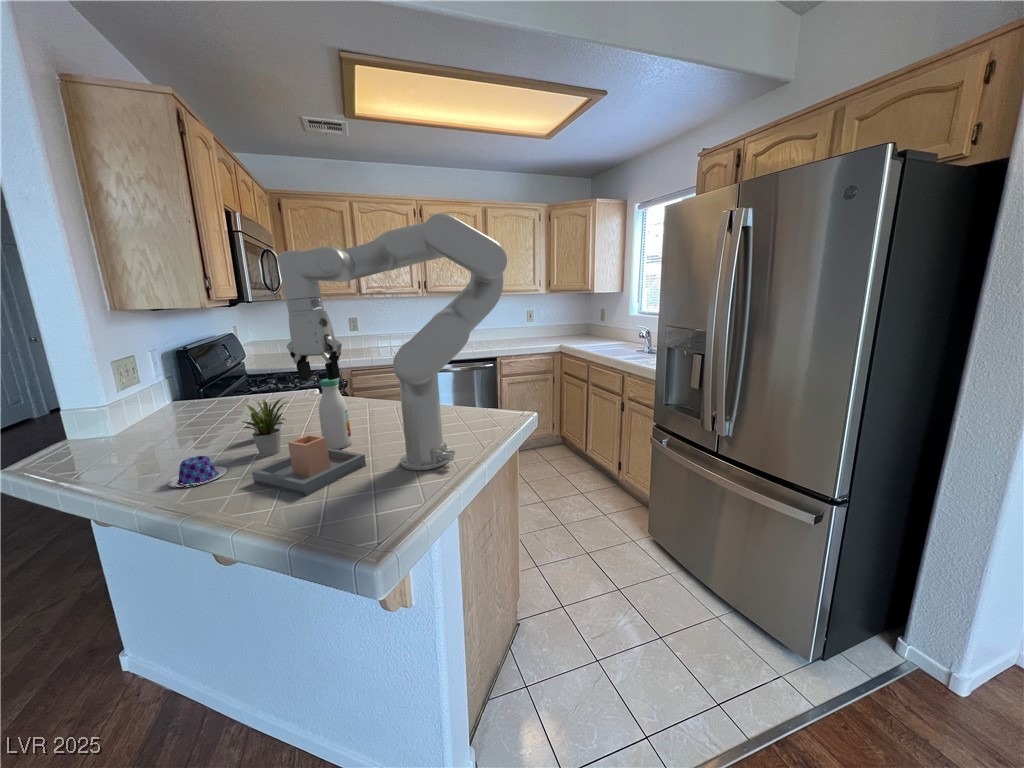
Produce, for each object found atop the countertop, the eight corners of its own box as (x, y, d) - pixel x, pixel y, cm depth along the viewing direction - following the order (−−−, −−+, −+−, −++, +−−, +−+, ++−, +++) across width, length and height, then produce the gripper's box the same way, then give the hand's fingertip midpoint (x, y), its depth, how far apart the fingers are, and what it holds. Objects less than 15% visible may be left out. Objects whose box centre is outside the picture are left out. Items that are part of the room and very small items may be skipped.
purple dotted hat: (223, 482, 103) (219, 462, 102) (162, 494, 98) (157, 473, 96) (230, 465, 113) (226, 447, 112) (175, 475, 108) (170, 456, 107)
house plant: (308, 440, 129) (301, 389, 126) (294, 457, 116) (284, 400, 112) (258, 445, 127) (249, 393, 123) (237, 463, 114) (226, 405, 110)
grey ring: (262, 442, 129) (256, 411, 127) (253, 442, 130) (247, 411, 128) (286, 432, 139) (281, 402, 137) (278, 431, 140) (273, 402, 138)
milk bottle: (345, 450, 120) (336, 381, 116) (319, 451, 120) (308, 382, 116) (356, 440, 128) (347, 376, 123) (331, 441, 128) (321, 377, 124)
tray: (366, 465, 109) (364, 454, 108) (305, 496, 93) (303, 484, 92) (317, 456, 117) (316, 445, 116) (254, 483, 101) (252, 471, 100)
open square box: (330, 467, 106) (326, 437, 104) (309, 477, 101) (304, 445, 99) (313, 463, 109) (309, 434, 107) (293, 473, 103) (288, 442, 102)
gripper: (345, 303, 97) (358, 375, 101) (294, 307, 105) (308, 374, 108) (318, 305, 91) (333, 383, 94) (266, 310, 98) (282, 381, 102)
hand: (319, 378), depth 101 cm, fingers open, 9 cm apart
